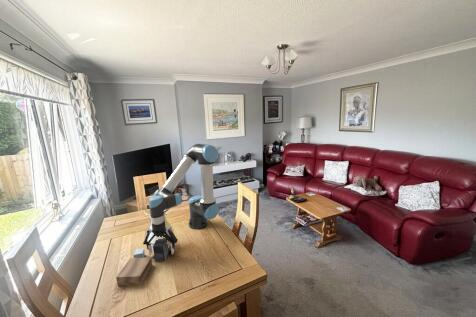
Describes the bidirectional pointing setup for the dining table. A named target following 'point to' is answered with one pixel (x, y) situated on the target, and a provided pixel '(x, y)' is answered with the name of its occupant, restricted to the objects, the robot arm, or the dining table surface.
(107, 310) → the dining table surface
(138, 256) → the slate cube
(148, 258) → the walnut base
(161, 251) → the small box
